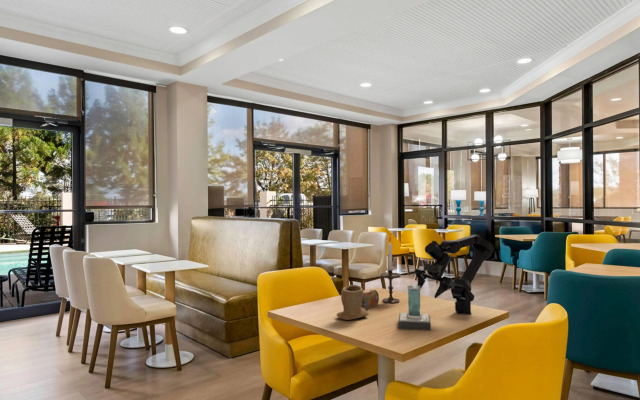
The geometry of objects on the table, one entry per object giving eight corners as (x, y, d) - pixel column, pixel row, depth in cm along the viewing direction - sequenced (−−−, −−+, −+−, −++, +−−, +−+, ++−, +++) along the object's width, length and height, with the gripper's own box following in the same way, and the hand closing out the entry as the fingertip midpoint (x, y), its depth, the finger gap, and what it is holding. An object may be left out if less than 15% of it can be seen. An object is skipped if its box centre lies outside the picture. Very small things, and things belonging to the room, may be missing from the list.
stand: (429, 321, 184) (429, 313, 184) (430, 330, 171) (430, 321, 172) (399, 320, 187) (399, 312, 187) (398, 328, 174) (398, 320, 174)
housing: (418, 314, 183) (417, 284, 184) (425, 318, 177) (424, 287, 177) (403, 315, 182) (403, 285, 182) (410, 319, 175) (409, 288, 176)
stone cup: (347, 323, 183) (347, 289, 183) (333, 317, 193) (332, 285, 193) (375, 318, 190) (374, 285, 191) (360, 313, 201) (359, 281, 201)
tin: (364, 311, 204) (364, 294, 204) (359, 310, 206) (358, 293, 206) (379, 305, 216) (379, 288, 216) (374, 304, 218) (373, 288, 218)
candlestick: (404, 303, 220) (403, 236, 220) (385, 304, 217) (383, 237, 218) (396, 298, 230) (395, 235, 231) (377, 300, 228) (376, 235, 228)
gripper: (416, 251, 194) (401, 280, 189) (452, 261, 180) (437, 292, 175) (425, 263, 200) (411, 291, 196) (461, 273, 187) (447, 304, 182)
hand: (426, 294), depth 187 cm, fingers open, 9 cm apart
